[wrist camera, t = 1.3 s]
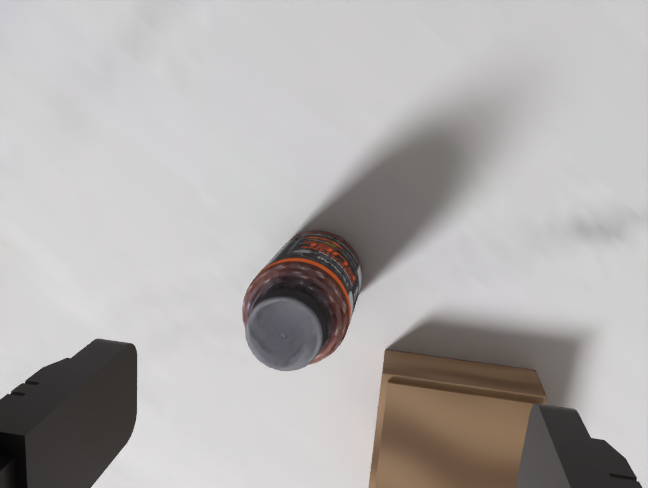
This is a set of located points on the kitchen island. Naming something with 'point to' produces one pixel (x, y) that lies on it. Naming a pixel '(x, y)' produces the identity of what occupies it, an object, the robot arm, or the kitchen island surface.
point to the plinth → (451, 422)
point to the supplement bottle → (302, 301)
